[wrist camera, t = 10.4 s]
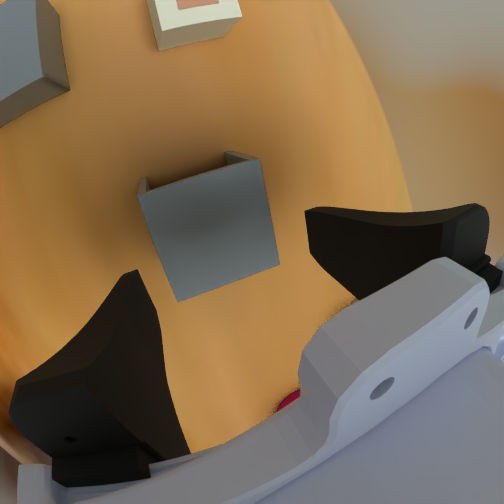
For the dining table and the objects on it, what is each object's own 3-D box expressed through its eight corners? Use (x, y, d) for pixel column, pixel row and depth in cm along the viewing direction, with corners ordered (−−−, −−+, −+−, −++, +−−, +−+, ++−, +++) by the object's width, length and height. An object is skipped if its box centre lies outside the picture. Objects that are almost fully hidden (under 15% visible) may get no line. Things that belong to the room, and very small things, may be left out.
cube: (222, 37, 14) (242, 16, 11) (158, 51, 13) (162, 30, 10) (209, -11, 12) (225, -40, 9) (146, 1, 11) (148, -29, 8)
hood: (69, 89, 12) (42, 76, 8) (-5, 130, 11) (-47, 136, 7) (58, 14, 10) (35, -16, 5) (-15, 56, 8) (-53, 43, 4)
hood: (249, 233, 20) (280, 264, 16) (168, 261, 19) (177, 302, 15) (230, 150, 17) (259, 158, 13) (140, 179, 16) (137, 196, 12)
